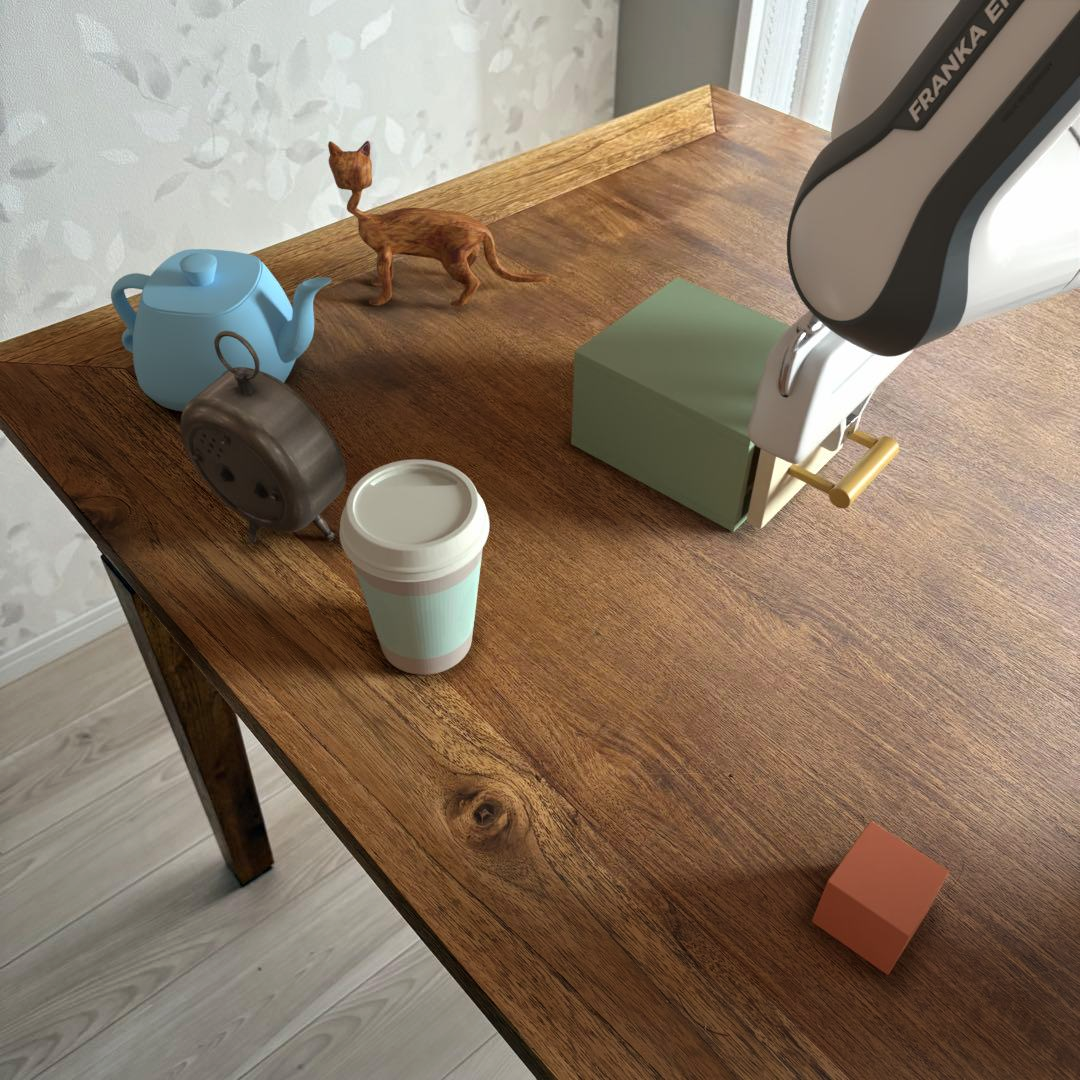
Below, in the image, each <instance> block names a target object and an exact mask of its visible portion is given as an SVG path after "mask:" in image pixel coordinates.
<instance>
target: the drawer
mask: <svg viewBox="0 0 1080 1080" xmlns="http://www.w3.org/2000/svg"><path fill="white" fill-rule="evenodd" d="M847 439H848V440H851V441H853V442H855V443H857V444H858V445H861V446H863V447H865V448H867V449H868V450H867V451H866V452H865V453H864V455H863V456H862V457H861V458H860V459H859V460H858V461H857V462H856V463H855V464H854V465H853V466H852V467H851V468H850V469H849V470H848V471H847V472H846V473H845V474H844V475H843V476H842V477H841V478H840V480H838V481H837V482H836V484H835V483H833V482H832V481H829V480H828V479H826V478H824V477H821V476H819V475H817V473H819V471H820V470H821V469H823V467H824V466H825V465H826V464H827V463H828V462H829V461H830V460H831V459H832V458H833V457H834V456H836V454H837V453H838V452H839V451H840V450H841V449H842V448H843V445H844V443H843V444H842V445H841V446H840V447H839V448H838V449H837V450H836V451H829V450H827V449H825V448H823V447H821V446H819V445H818V446H817V447H816V448H815V449H814V450H813V451H812V452H811V453H810V454H809V455H808V456H807V457H806V458H805V459H804V460H803V461H802V462H800V463H798V464H792V463H789V462H787V461H784V460H782V459H780V458H778V457H776V456H773V455H771V454H769V453H768V452H766V451H764V450H762V449H760V448H759V447H757V446H754V451H753V456H752V462H751V467H750V472H749V477H748V482H747V488H746V493H745V496H746V495H747V494H748V493H749V492H750V491H751V490H752V489H753V491H752V496H751V501H750V506H749V511H748V516H747V519H746V523H748V524H749V525H751V526H753V527H755V528H757V529H759V530H762V529H763V528H764V527H765V526H766V525H767V524H768V523H769V522H770V521H771V520H772V519H773V518H774V517H775V515H777V513H778V512H780V511H781V510H782V509H783V508H784V507H785V505H787V503H789V501H791V499H793V497H795V496H796V494H797V493H799V491H800V490H801V489H802V488H803V487H804V486H805V485H808V486H810V487H812V488H815V489H817V490H819V491H820V492H823V493H824V494H827V495H828V500H829V502H830V503H831V504H832V505H833V506H835V507H836V508H838V509H847V508H849V507H850V506H851V505H852V504H853V503H854V502H855V500H857V498H858V497H859V496H860V495H861V494H862V493H863V492H864V491H865V490H866V489H867V488H868V487H869V486H870V484H871V483H872V482H873V481H874V480H875V479H876V478H877V477H878V476H879V475H880V473H882V472H883V470H884V469H885V468H886V467H888V465H889V464H890V463H891V461H893V460H894V458H895V457H896V456H898V454H899V452H900V446H899V443H898V442H897V440H896V439H895V438H893V437H891V436H885V435H884V436H882V437H880V438H875V437H874V436H871V435H869V434H867V433H865V432H863V431H861V430H859V429H858V428H857V429H856V430H855V432H854V433H852V434H851V435H850V436H849V437H848V438H847Z"/></svg>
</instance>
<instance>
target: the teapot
mask: <svg viewBox="0 0 1080 1080" xmlns="http://www.w3.org/2000/svg"><path fill="white" fill-rule="evenodd" d="M331 282H332V279H331V277H326V276H325V277H324V276H322V277H321V276H320V277H319V276H318V277H314V278H313V277H312V278H309V279H306V280H304V281H302V282H301V283H299V284H298V286H297V287H296V289H295V291H294V294H293V299H292V304H291V302H290V300H289V298H288V296H287V294H286V292H285V290H284V289H283V287H282V285H281V284H280V283H279V281H278V280H277V279H276V277H275V275H274V274H273V273H272V271H270V270H269V268H268V267H267V266H266V265H265V264H264V262H263V261H262V259H260V257H258V256H255V255H253V254H250V253H245V252H240V251H233V250H223V249H212V248H211V249H209V248H191V249H185V250H181V251H179V252H176V253H175V254H172V255H171V256H169V257H168V258H167V259H165V260H164V261H163V262H162V263H161V264H160V265H158V266H157V267H156V268H155V270H154V271H153V272H152V273H151V274H150V275H149V274H144V273H137V272H134V273H133V272H132V273H129V274H125V275H123V276H122V277H119V279H118V280H117V281H116V282H115V283H114V285H113V286H112V288H111V290H110V291H111V292H110V300H111V303H112V306H113V309H114V310H115V312H116V313H117V314H118V317H120V319H121V321H122V322H123V324H125V327H127V328H126V329H125V330H124V331H123V332H122V336H121V343H122V346H123V347H124V349H125V350H126V351H128V352H129V353H131V354H132V358H133V359H132V360H133V367H134V368H133V369H134V373H135V376H136V380H137V383H138V386H139V387H140V389H141V390H142V391H143V393H144V394H145V395H146V396H147V397H149V398H150V399H151V400H153V401H154V402H155V403H157V404H158V405H160V406H162V407H163V408H166V409H170V410H173V411H177V412H182V413H183V410H184V408H185V406H186V405H187V404H188V403H189V402H190V401H191V400H192V399H193V398H194V397H196V396H197V395H198V394H199V393H200V392H202V391H203V390H204V389H205V388H207V387H208V386H209V385H210V384H212V383H213V382H214V381H215V380H217V379H218V378H219V377H220V376H221V375H222V374H223V373H224V372H225V371H227V370H228V369H227V368H226V367H225V366H224V365H223V363H222V362H221V361H220V359H219V358H218V355H217V353H216V350H215V345H214V340H215V337H216V336H217V335H218V334H219V333H220V332H222V331H231V332H235V333H237V334H238V335H240V336H242V337H243V338H245V339H246V340H247V341H248V342H249V343H250V345H251V346H252V347H253V349H254V350H255V352H256V354H257V356H258V359H259V362H260V365H259V369H260V370H259V371H262V372H265V373H267V374H269V375H271V376H273V377H275V378H277V379H279V380H280V381H282V382H283V383H285V382H286V381H287V379H288V377H289V376H290V374H291V372H292V369H293V367H294V365H295V363H296V361H297V359H299V357H301V356H302V355H303V354H304V352H306V350H307V349H308V348H309V346H310V345H311V342H312V340H313V338H314V332H315V312H314V299H315V297H316V294H317V293H318V291H320V290H322V289H323V288H324V287H325V286H327V285H329V284H330V283H331ZM127 289H128V290H129V289H137V290H141V294H140V298H139V301H138V304H137V310H136V311H135V309H134V308H133V306H132V305H131V303H130V302H129V300H128V298H127V296H126V293H125V290H127ZM219 348H220V351H221V353H222V355H223V357H224V358H225V360H226V361H227V363H228V364H229V365H230V366H231V367H232V368H236V367H246V368H252V369H255V363H254V359H253V357H252V355H251V354H250V352H249V350H248V349H247V348H246V347H245V346H244V345H243V344H242V343H241V342H240V341H239V340H238V339H235V338H233V337H230V336H225V337H222V338H221V339H220V342H219Z"/></svg>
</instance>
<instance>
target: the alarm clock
mask: <svg viewBox="0 0 1080 1080" xmlns="http://www.w3.org/2000/svg"><path fill="white" fill-rule="evenodd" d="M225 336H230V337H233V338H235V339H238V340H239V341H240V342H241V343H242V344H243V345H244V346H245V347H246V348H247V349H248V350H249V352H250V354H251V355H252V357H253V359H254V363H255V369H252V368H246V367H236V368H232V367H231V366H230V365H229V364H228V363H227V361H226V360H225V358H224V357H223V355H222V353H221V351H220V348H219V342H220V339H221V338H222V337H225ZM214 345H215V350H216V353H217V355H218V358H219V359H220V361H221V362H222V363H223V365H224V366H225V367H226V368H227V369H228V370H227V371H225V372H224V373H223V374H222V375H221V376H220V377H219V378H218V379H217V380H215V381H214V382H213V383H212V384H210V385H209V386H208V387H207V388H205V389H204V390H203V391H202V392H200V393H199V394H198V395H197V396H196V397H194V398H193V399H192V400H191V401H190V402H189V403H188V404H187V405H186V406H185V408H184V410H183V412H182V413H181V417H180V435H181V439H182V443H183V446H184V449H185V451H186V453H187V456H188V458H189V459H190V462H191V464H192V465H193V466H194V469H195V470H196V472H197V473H198V475H199V476H200V478H201V479H202V480H203V481H204V483H205V484H206V485H207V486H208V488H209V489H211V491H212V492H213V493H214V494H215V495H216V496H217V497H218V498H219V499H220V500H221V501H222V502H223V503H224V504H225V505H226V506H227V507H229V508H230V509H231V510H233V511H234V512H236V513H237V514H238V515H239V516H241V517H243V519H245V520H246V521H247V522H248V534H247V536H248V537H247V538H248V542H250V543H251V544H254V543H255V542H256V541H257V537H258V531H259V528H263V529H266V530H270V531H273V532H277V533H293V532H294V533H295V532H298V531H300V530H304V529H305V528H307V527H308V526H309V525H311V523H313V524H314V526H315V527H316V528H317V529H318V530H319V531H321V532H322V533H323V534H324V538H325V540H327V541H328V542H330V541H333V540H334V538H335V537H336V536H335V533H334V532H332V531H331V529H330V527H329V524H328V523H327V521H326V520H325V519H324V518H323V516H322V515H321V513H322V512H323V511H324V510H325V509H326V508H328V507H329V506H330V504H332V503H333V501H334V500H336V499H337V498H338V497H339V496H340V495H341V494H342V492H343V491H344V489H345V485H346V481H347V470H346V464H345V459H344V456H343V453H342V450H341V448H340V446H339V444H338V442H337V440H336V438H335V436H334V435H333V433H332V431H331V430H330V428H329V427H328V425H327V424H326V422H325V421H324V420H323V418H322V417H321V416H320V414H319V413H318V412H317V410H315V409H314V408H313V407H312V405H310V403H308V401H307V400H306V399H305V398H303V397H302V396H301V395H300V394H299V393H298V392H297V391H296V390H295V389H294V388H292V387H290V386H289V385H288V384H287V383H285V382H284V383H283V382H282V381H280V380H279V379H277V378H275V377H273V376H271V375H269V374H267V373H265V372H262V371H259V370H260V369H259V365H260V362H259V359H258V356H257V354H256V352H255V350H254V349H253V347H252V346H251V345H250V343H249V342H248V341H247V340H246V339H245V338H243V337H242V336H240V335H238V334H237V333H235V332H231V331H222V332H220V333H219V334H218V335H217V336H216V337H215V340H214Z"/></svg>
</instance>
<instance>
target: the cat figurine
mask: <svg viewBox="0 0 1080 1080" xmlns="http://www.w3.org/2000/svg"><path fill="white" fill-rule="evenodd" d="M327 147H328V152H329V157H328V165H329V169H330V171H331V173H332V175H333V179H334V183H335V185H336V187H337V188H338V189H341V190H347V191H351V196H350V197H349V199H348V201H347V203H346V210H347V212H348V213H349V214H351V215H353V216H354V217H356V218H357V222H358V226H357V227H358V228H357V229H358V234H359V235H358V236H359V237H360V238H361V240H362V241H363V243H364V244H366V245H367V246H368V247H369V248H371V249H372V250H373V251H374V252H375V253H376V269H377V274H378V277H375V278H372V279H371V284H372V285H373V286H374V287H381V286H382V288H381V291H380V293H379V295H378V297H376V298H372V299H370V300H369V301H368V303H369V305H370V306H373V307H379V306H382V305H384V304H386V303H387V302H389V301H390V300H391V298H392V295H393V283H392V280H393V278H394V271H395V270H394V258H393V256H394V255H395V256H396V255H403V256H411V257H412V256H413V257H421V258H427V259H434V260H436V261H439V262H440V263H441V265H442V266H443V267H442V268H443V269H444V270H445V272H446V273H447V274H448V275H449V276H450V277H451V278H452V279H453V280H454V281H457V282H458V283H460V284H461V285H463V290H462V291H461V294H460V296H459V299H456V300H452V301H451V302H450V303H449V304H450V306H455V307H456V306H457V307H460V306H462V307H463V306H465V305H467V303H468V301H470V299H471V297H473V295H474V294H475V293H476V291H477V290H478V289H479V287H480V284H481V280H480V278H478V277H477V276H476V275H475V274H474V272H473V271H472V270H471V267H472V265H474V263H475V262H476V260H477V258H478V256H479V254H480V249H481V247H480V244H481V243H483V255H484V257H485V260H486V262H487V264H488V266H489V267H490V269H491V270H492V272H494V273H495V274H496V276H498V277H500V278H501V279H504V280H506V281H509V282H515V283H544V282H549V280H550V279H551V278H550V276H549V275H548V274H543V273H521V272H517V271H513V270H511V269H508V268H507V267H505V266H503V264H502V263H501V262H500V260H499V258H498V255H497V253H496V247H495V246H496V244H495V239H494V236H493V234H492V232H491V231H490V229H489V228H488V227H487V226H486V225H485V224H484V223H483V222H481V221H480V220H479V219H477V218H475V217H473V216H472V215H470V214H467V213H464V212H460V211H455V210H454V211H453V210H444V209H433V208H423V207H403V208H397V209H393V210H392V211H389V212H386V213H382V214H378V213H368V212H366V211H362V210H361V209H359V208H358V206H359V204H360V201H361V198H362V193H363V191H364V190H365V189H368V188H370V187H371V186H372V184H373V174H372V172H373V171H372V170H373V168H372V167H373V165H372V160H371V143H370V140H366V141H365V142H364V143H363V144H362V145H361V146H360V147H359V148H358V149H357V150H354V151H353V150H347V151H345V150H342V148H340V146H338V145H337V144H336V143H335V142H333V141H331V140H330V141H328V144H327Z"/></svg>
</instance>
